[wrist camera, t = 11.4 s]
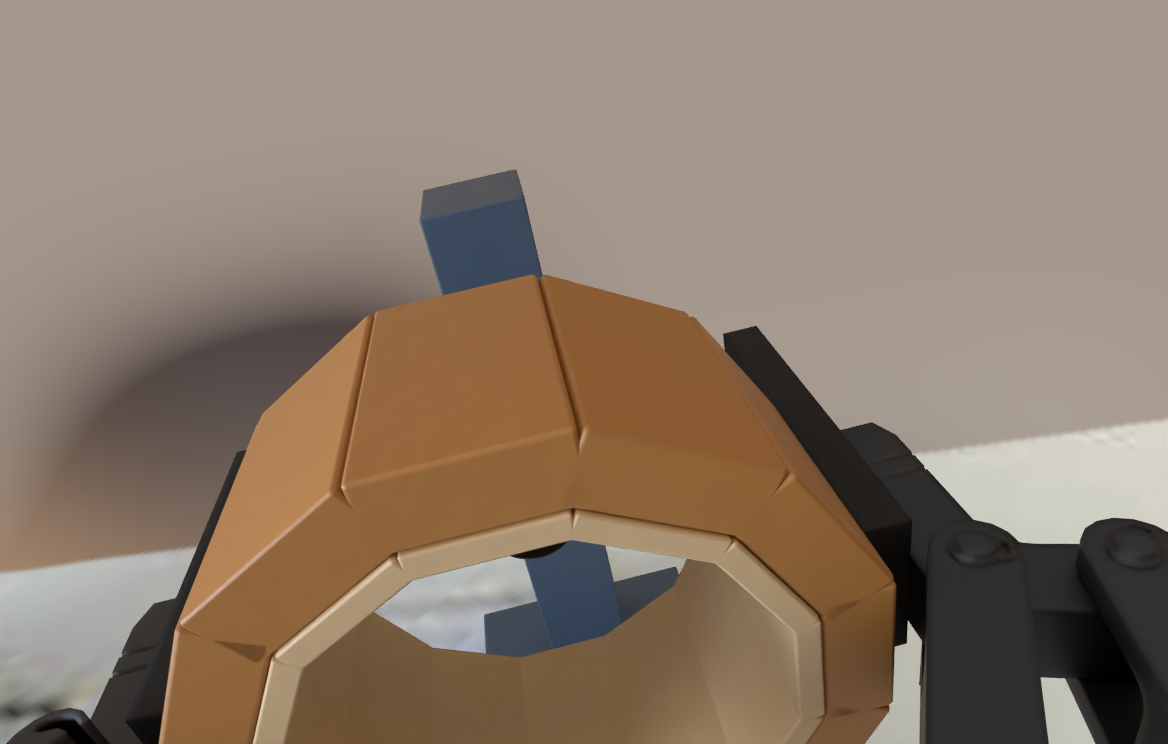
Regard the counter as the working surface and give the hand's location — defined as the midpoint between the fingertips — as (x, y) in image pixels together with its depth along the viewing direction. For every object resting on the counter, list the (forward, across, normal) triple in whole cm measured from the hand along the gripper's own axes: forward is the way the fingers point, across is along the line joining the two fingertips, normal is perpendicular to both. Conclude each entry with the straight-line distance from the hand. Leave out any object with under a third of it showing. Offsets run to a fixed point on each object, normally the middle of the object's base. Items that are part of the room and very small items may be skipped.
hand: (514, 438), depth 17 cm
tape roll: (-5, 0, 0) cm, 5 cm away
